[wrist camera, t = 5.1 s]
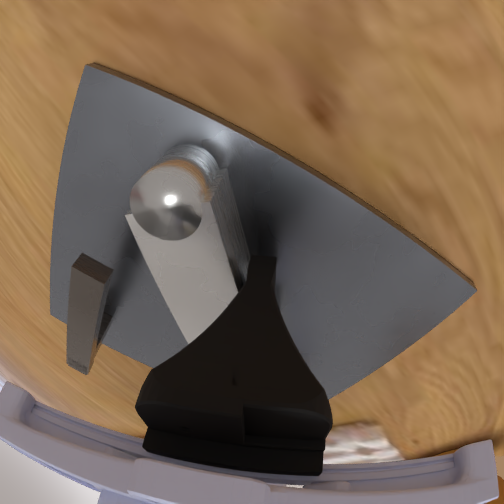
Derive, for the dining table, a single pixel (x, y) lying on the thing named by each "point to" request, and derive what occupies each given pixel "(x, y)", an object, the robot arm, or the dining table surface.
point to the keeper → (87, 311)
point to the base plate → (255, 230)
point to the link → (190, 235)
